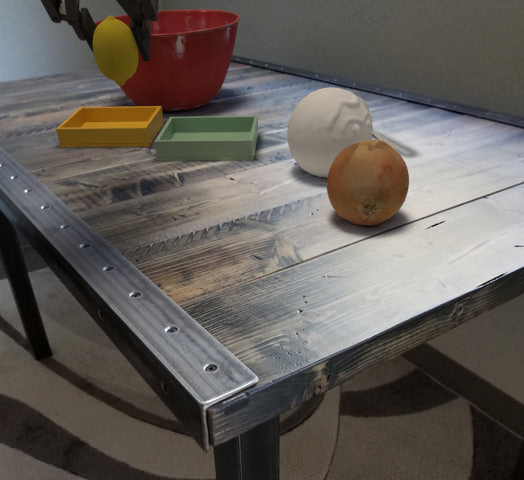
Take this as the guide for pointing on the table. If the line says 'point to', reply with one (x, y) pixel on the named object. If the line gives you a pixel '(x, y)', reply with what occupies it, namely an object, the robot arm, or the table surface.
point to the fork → (384, 140)
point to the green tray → (208, 138)
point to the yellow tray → (111, 127)
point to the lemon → (115, 50)
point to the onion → (368, 182)
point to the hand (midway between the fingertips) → (123, 51)
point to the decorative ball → (327, 128)
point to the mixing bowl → (183, 59)
